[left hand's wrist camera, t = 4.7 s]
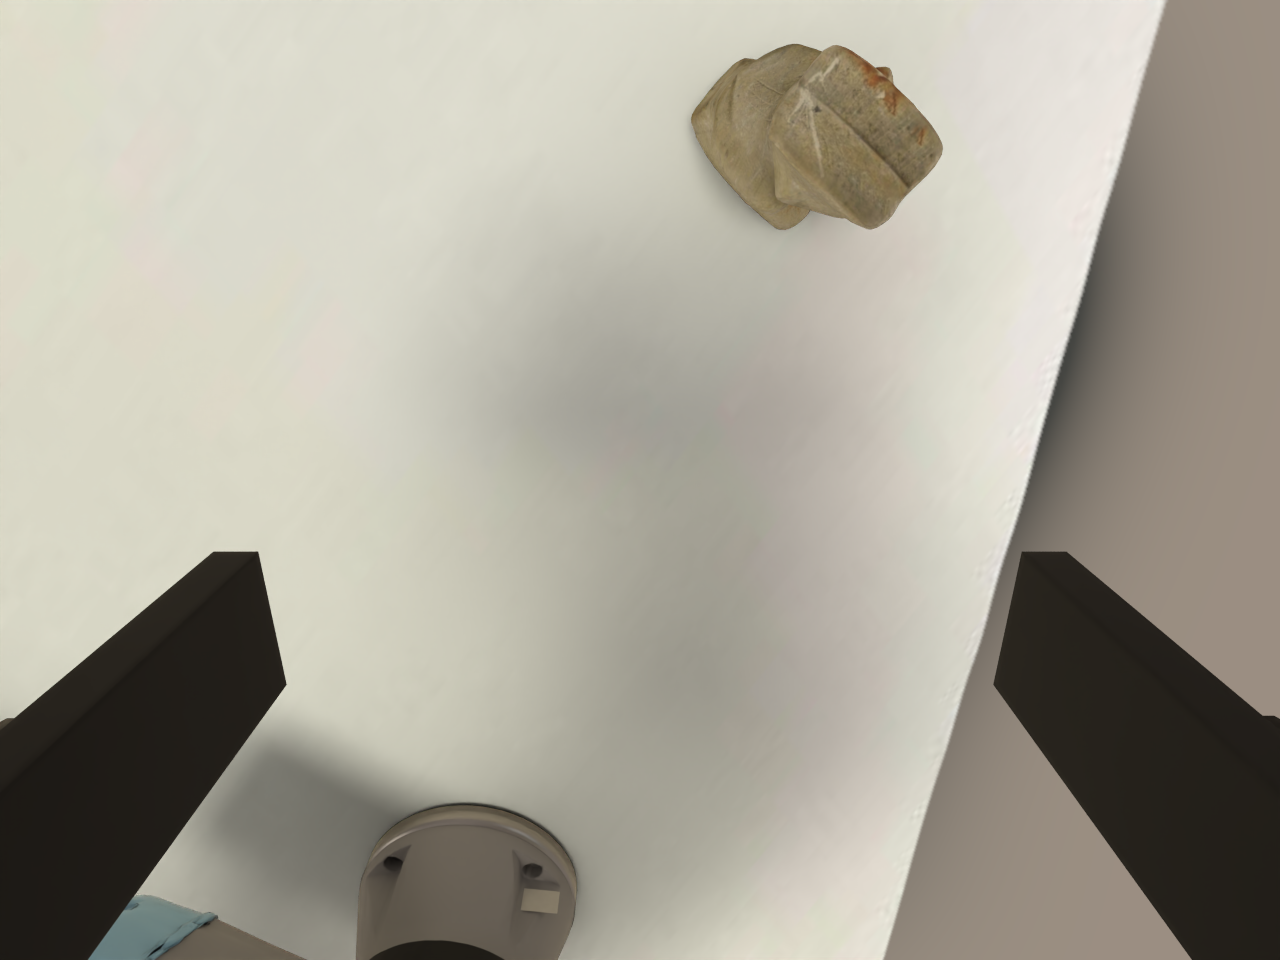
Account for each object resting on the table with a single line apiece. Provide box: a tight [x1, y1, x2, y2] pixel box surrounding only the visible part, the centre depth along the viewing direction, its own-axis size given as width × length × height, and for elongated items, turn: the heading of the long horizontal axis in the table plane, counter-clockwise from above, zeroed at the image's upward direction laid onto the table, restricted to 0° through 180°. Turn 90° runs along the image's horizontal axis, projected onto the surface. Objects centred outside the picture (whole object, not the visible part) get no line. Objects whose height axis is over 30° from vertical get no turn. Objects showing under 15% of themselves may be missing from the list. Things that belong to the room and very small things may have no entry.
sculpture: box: [691, 44, 943, 230], centre depth 28 cm, size 6×7×15 cm
